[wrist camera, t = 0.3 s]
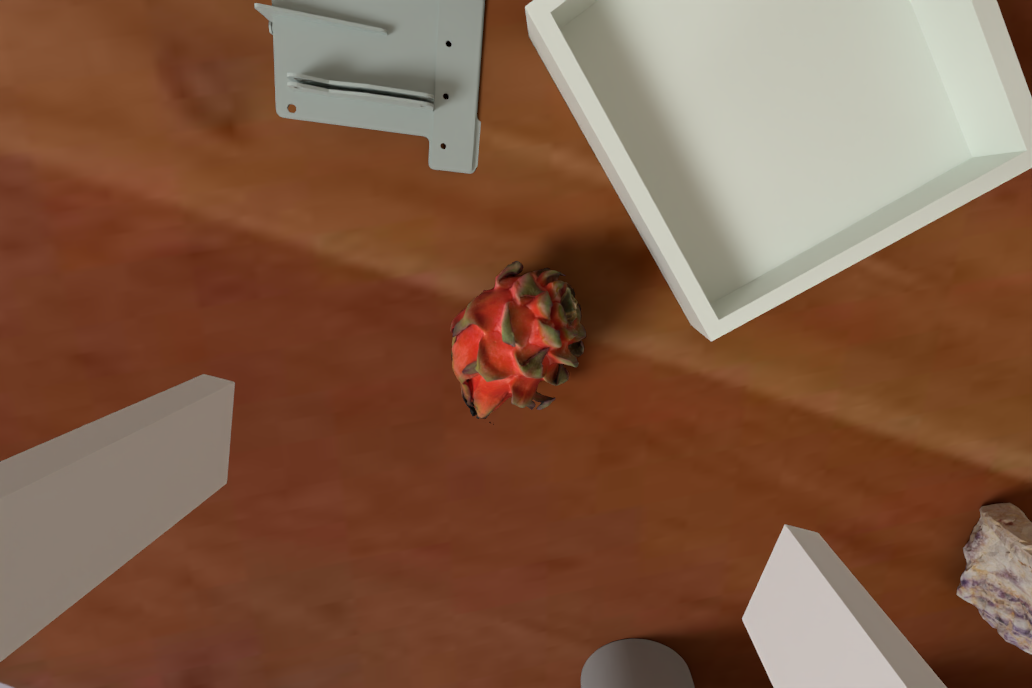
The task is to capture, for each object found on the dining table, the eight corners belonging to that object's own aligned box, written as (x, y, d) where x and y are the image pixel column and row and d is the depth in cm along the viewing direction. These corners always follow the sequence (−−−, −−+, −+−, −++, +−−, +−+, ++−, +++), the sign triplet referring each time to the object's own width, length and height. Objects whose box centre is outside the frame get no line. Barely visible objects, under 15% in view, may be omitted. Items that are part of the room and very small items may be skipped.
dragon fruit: (576, 257, 35) (495, 375, 40) (483, 215, 30) (403, 356, 35) (640, 326, 29) (536, 455, 34) (538, 288, 24) (432, 446, 29)
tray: (528, 36, 30) (524, 6, 26) (838, -196, 26) (896, -278, 22) (691, 325, 34) (711, 341, 30) (980, 164, 30) (1052, 156, 26)
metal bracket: (253, 146, 28) (237, -176, 24) (279, 154, 33) (270, -106, 29) (494, 174, 31) (517, -104, 27) (482, 178, 36) (499, -54, 32)
